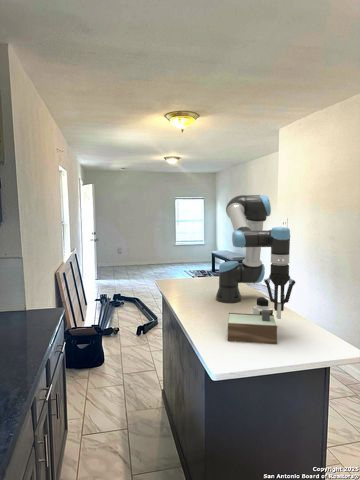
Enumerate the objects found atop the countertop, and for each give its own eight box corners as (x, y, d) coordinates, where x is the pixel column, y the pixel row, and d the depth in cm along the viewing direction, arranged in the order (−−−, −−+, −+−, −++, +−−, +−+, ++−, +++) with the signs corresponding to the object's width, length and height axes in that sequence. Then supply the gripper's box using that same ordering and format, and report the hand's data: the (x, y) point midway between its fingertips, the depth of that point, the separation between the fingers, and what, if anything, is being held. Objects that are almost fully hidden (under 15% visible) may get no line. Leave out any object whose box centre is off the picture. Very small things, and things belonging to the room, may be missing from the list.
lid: (229, 315, 148) (229, 305, 147) (273, 318, 144) (273, 307, 144) (228, 324, 137) (228, 313, 136) (276, 327, 133) (276, 316, 133)
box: (228, 328, 150) (229, 312, 149) (273, 331, 146) (273, 315, 145) (227, 340, 136) (227, 323, 135) (276, 344, 132) (277, 326, 132)
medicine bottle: (259, 325, 154) (260, 300, 153) (252, 320, 161) (252, 296, 160) (272, 323, 156) (273, 299, 155) (265, 318, 163) (265, 295, 162)
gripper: (264, 265, 133) (263, 320, 136) (297, 265, 131) (296, 321, 133) (263, 262, 141) (262, 314, 143) (294, 262, 138) (293, 315, 141)
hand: (278, 317), depth 138 cm, fingers closed
